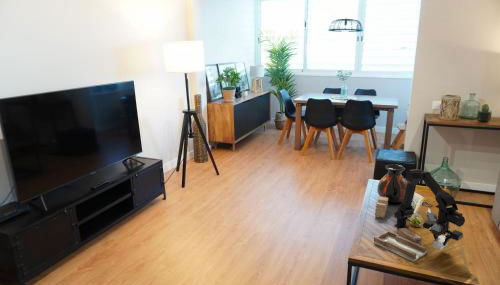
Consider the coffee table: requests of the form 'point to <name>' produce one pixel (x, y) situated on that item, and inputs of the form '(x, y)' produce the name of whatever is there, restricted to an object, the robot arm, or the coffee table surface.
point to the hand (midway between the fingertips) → (440, 244)
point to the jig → (400, 245)
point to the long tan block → (409, 235)
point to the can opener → (431, 216)
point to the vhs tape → (426, 203)
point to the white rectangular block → (439, 243)
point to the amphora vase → (393, 185)
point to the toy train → (381, 207)
